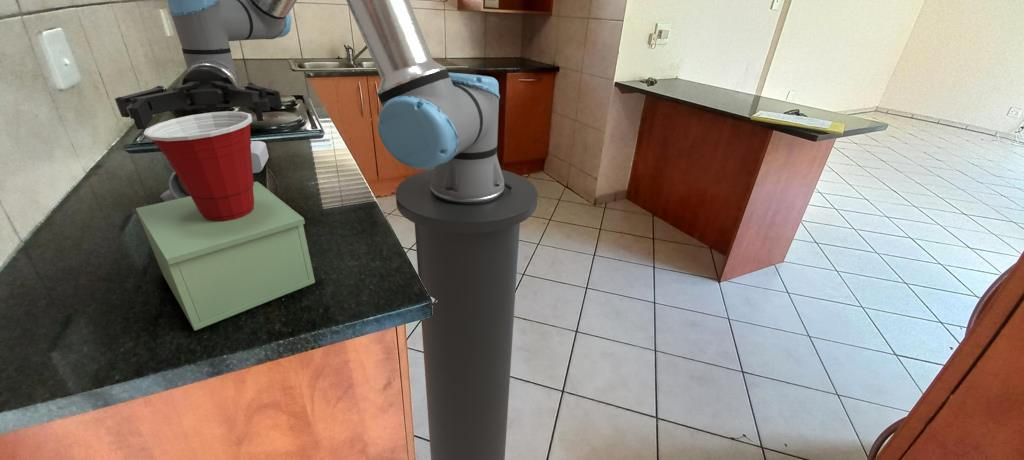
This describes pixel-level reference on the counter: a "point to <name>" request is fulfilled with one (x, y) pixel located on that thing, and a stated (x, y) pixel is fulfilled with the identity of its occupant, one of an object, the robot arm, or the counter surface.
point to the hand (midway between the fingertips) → (200, 115)
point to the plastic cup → (211, 160)
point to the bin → (238, 275)
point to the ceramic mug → (174, 189)
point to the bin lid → (213, 225)
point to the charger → (258, 155)
